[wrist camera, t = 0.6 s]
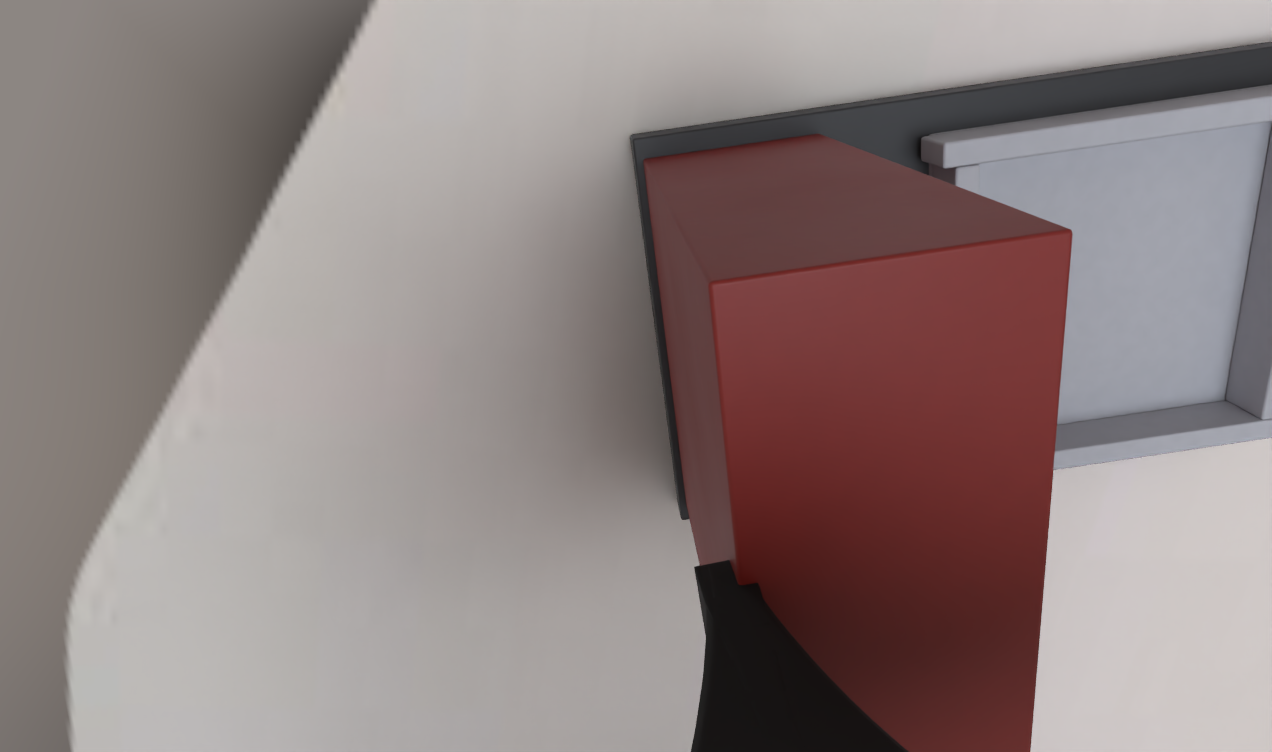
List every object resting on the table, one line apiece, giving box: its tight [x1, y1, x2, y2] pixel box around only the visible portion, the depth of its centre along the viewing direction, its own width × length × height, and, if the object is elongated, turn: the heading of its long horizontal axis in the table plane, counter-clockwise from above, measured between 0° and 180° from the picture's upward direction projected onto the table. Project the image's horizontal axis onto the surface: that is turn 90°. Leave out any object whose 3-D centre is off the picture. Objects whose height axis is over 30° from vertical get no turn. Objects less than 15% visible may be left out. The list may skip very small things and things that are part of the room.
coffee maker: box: [630, 42, 1272, 752], centre depth 17 cm, size 11×17×12 cm, turn 98°
